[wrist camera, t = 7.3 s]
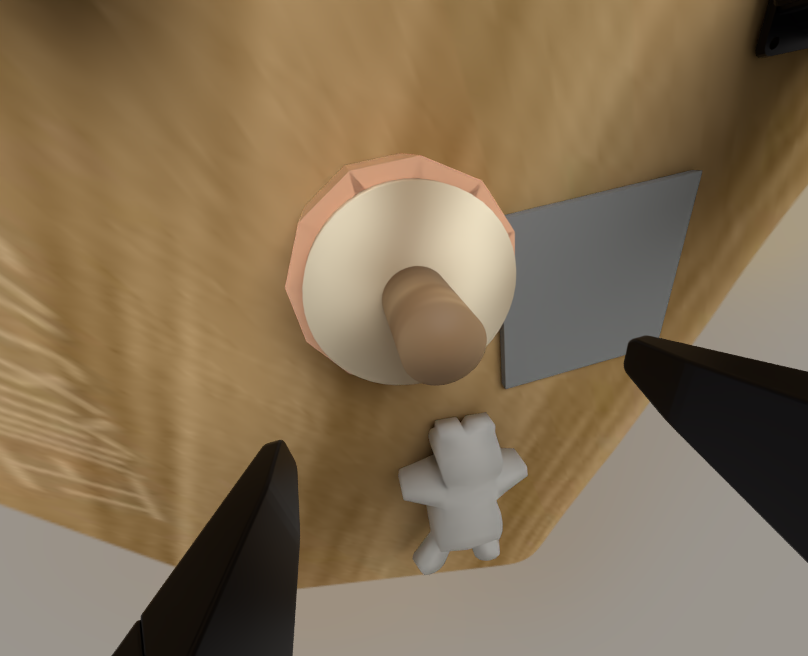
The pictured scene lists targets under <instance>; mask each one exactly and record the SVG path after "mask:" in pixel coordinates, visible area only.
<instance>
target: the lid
mask: <svg viewBox="0 0 808 656" xmlns="http://www.w3.org/2000/svg"><path fill="white" fill-rule="evenodd" d="M515 285H516V261H515V255H514V251H513V246H512V244H511V241H510V238H509V236H508V233H507V232H506V230H505V228H504V226H503V224H502V223H501V221H500V220H499V219H498V217H497V216H496V215H495V214H494V212H493V211H492V210H491V209H490V208H489V207H488V206H486V205H485V204H484V203H483V202H482V201H481V200H479V199H478V198H476V197H475V196H473V195H472V194H470V193H468V192H466V191H464V190H462V189H460V188H458V187H455V186H452V185H449V184H445V183H442V182H438V181H435V180H429V179H422V178H403V179H397V180H391V181H386V182H383V183H380V184H377V185H374V186H371V187H369V188H367V189H365V190H363V191H361V192H359V193H357V194H356V195H354V196H353V197H351V198H350V199H348V200H347V201H346V202H344V203H343V204H342V205H341V206H340V207H339V208H338V209H336V210H335V211H334V212H333V214H332V215H331V216H330V217H329V218H328V219H327V221H326V222H325V223H324V224H323V226H322V228H321V229H320V231H319V232H318V234H317V235H316V237H315V240H314V242H313V244H312V246H311V248H310V251H309V255H308V258H307V262H306V266H305V271H304V279H303V286H302V292H303V306H304V313H305V316H306V320H307V323H308V326H309V328H310V330H311V332H312V335H313V337H314V339H315V340H316V342H317V343H318V345H319V346H320V348H321V349H322V350H323V351H324V352H325V353H326V355H327V356H328V357H329V358H330V359H331V360H333V361H334V362H335V363H336V364H337V365H338V366H340V367H341V368H343V369H344V370H346V371H348V372H349V373H351V374H353V375H355V376H358V377H360V378H362V379H365V380H368V381H371V382H376V383H381V384H389V385H410V384H418V383H423V384H427V385H445V384H449V383H452V382H455V381H457V380H459V379H461V378H463V377H465V376H466V375H467V374H469V373H470V372H471V371H472V370H473V369H474V368H475V367H476V366H477V365H478V363H479V362H480V361H481V359H482V357H483V355H484V353H485V349H486V346H487V345H488V344H489V343H490V342H491V341H492V339H493V338H494V336H495V335H496V334H497V332H498V331H499V329H500V328H501V326H502V324H503V322H504V321H505V319H506V316H507V314H508V312H509V309H510V306H511V303H512V300H513V297H514V291H515Z"/></svg>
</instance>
